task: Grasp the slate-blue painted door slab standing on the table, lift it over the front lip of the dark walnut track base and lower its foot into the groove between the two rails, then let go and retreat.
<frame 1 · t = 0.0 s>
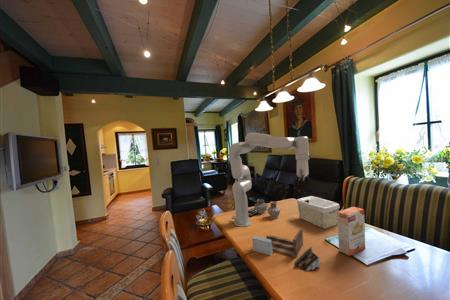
hand: (304, 185, 114), 31 cm above the table, fingers open, 9 cm apart
pottery: (267, 215, 154), on the table
cracker box: (352, 250, 99), on the table
track base: (281, 245, 107), on the table
storage basket: (318, 221, 135), on the table
chocolate cake: (309, 266, 89), on the table
door slab: (262, 251, 103), on the table
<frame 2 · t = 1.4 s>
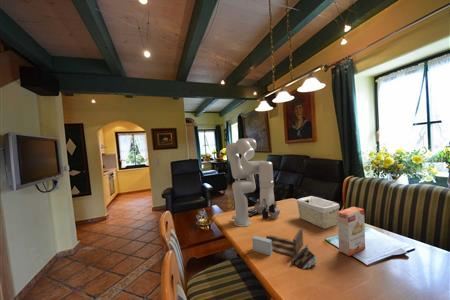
hand: (268, 215, 104), 19 cm above the table, fingers open, 9 cm apart
chocolate cake: (305, 265, 90), on the table
everything else where it was.
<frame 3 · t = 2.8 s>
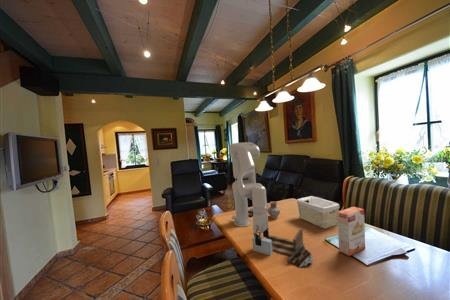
hand: (262, 241, 102), 6 cm above the table, fingers open, 9 cm apart
chocolate cake: (302, 263, 92), on the table
everything else where it was.
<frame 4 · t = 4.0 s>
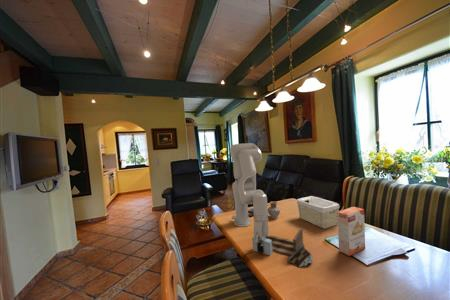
hand: (262, 249, 103), 1 cm above the table, fingers open, 5 cm apart
chocolate cake: (301, 263, 92), on the table, touching track base
everything else where it was.
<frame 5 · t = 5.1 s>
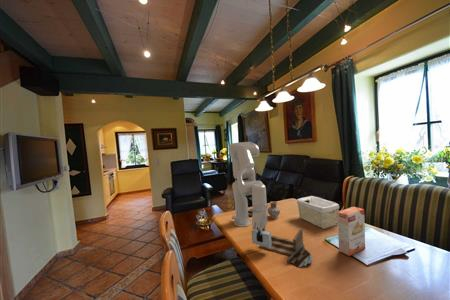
hand: (261, 239, 104), 6 cm above the table, fingers closed on door slab, 2 cm apart
chocolate cake: (301, 263, 92), on the table
door slab: (261, 243, 104), point 4 cm above the table, touching gripper
everything else where it was.
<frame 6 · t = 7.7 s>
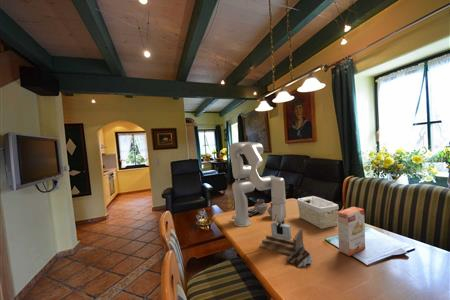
hand: (280, 232, 107), 8 cm above the table, fingers closed on door slab, 3 cm apart
door slab: (281, 236, 107), point 5 cm above the table, touching gripper
when the fingers open (3 cm above the table, at t = 9.5 s): door slab stays where it is, resting on track base.
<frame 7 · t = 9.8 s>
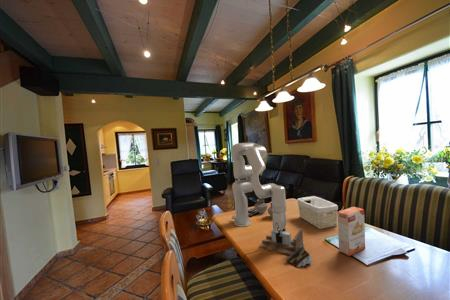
hand: (281, 239, 107), 4 cm above the table, fingers open, 5 cm apart
door slab: (281, 244, 107), point 1 cm above the table, touching track base
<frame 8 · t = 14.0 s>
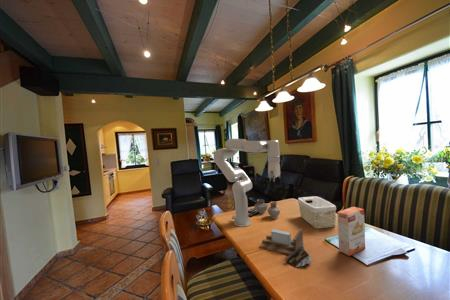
hand: (275, 185, 122), 30 cm above the table, fingers open, 9 cm apart
at the end: door slab inside the target area on the track base (0.1 cm from its centre), point 1.0 cm above the track base's base; door slab tilted 0°; the gripper is holding nothing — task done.
